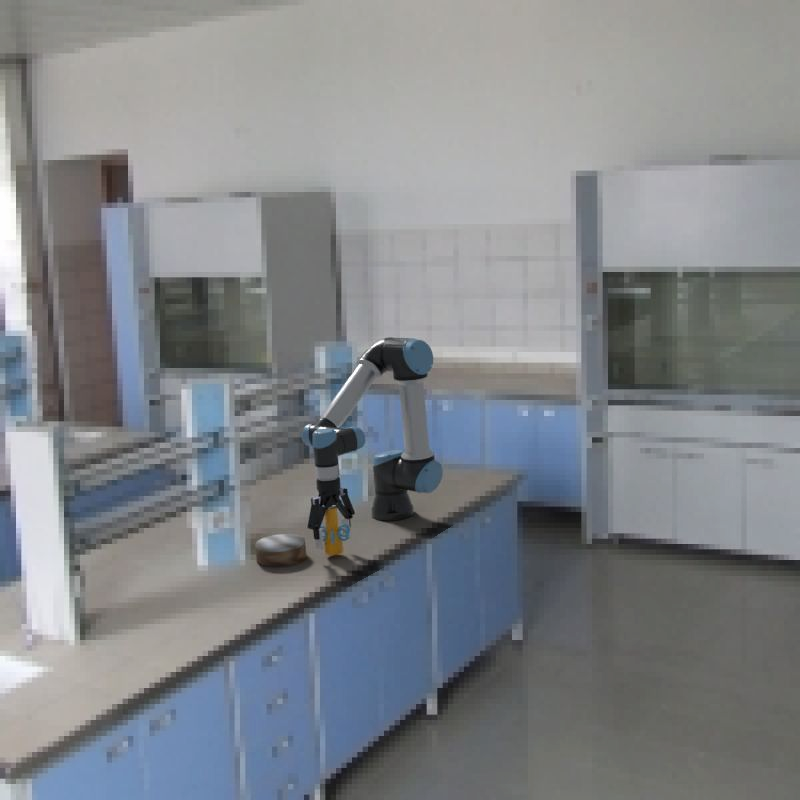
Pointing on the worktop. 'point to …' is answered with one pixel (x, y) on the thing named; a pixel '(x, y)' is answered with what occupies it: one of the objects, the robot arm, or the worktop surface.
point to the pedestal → (280, 550)
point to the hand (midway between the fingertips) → (333, 543)
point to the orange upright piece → (333, 533)
